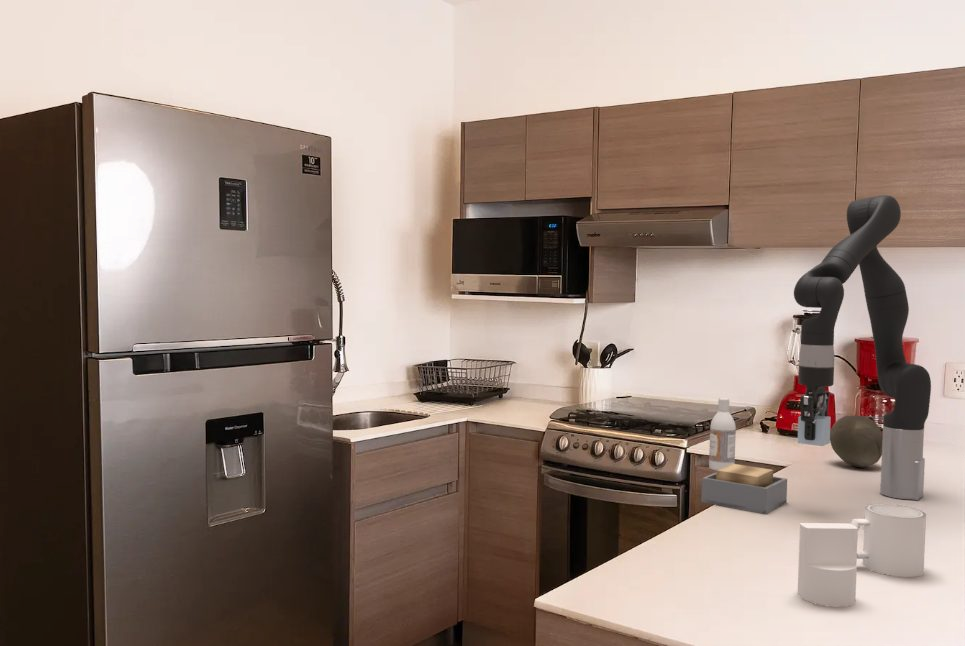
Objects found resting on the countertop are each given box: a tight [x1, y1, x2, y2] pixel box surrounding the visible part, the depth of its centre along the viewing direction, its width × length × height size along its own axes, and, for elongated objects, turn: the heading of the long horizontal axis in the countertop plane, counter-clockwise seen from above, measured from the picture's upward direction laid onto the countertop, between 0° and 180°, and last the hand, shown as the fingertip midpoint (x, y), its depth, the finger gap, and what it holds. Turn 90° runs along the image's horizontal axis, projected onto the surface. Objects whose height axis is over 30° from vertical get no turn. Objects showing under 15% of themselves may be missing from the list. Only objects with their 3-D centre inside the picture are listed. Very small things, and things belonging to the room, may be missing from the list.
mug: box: [850, 503, 927, 578], centre depth 157 cm, size 14×10×11 cm
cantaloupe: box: [830, 415, 883, 469], centre depth 245 cm, size 14×14×15 cm
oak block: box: [715, 463, 774, 488], centre depth 203 cm, size 10×10×7 cm
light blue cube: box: [797, 414, 832, 447], centre depth 194 cm, size 6×6×6 cm
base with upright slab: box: [797, 522, 859, 607], centre depth 141 cm, size 9×9×12 cm
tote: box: [700, 471, 788, 515], centre depth 203 cm, size 16×14×6 cm
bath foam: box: [708, 397, 737, 471], centre depth 239 cm, size 7×7×20 cm
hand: (813, 437), depth 194 cm, fingers closed on light blue cube, 5 cm apart
